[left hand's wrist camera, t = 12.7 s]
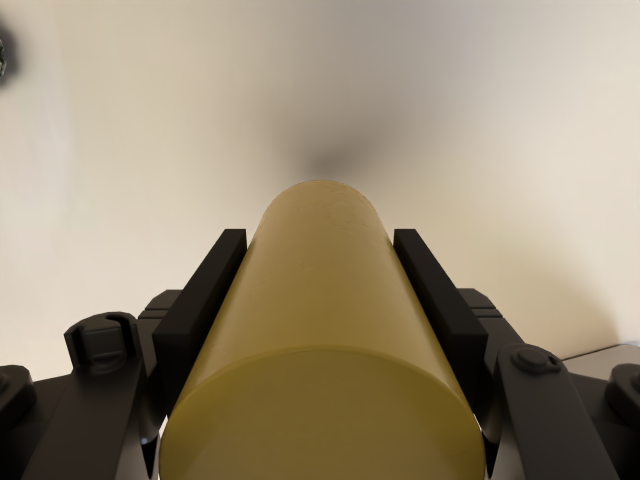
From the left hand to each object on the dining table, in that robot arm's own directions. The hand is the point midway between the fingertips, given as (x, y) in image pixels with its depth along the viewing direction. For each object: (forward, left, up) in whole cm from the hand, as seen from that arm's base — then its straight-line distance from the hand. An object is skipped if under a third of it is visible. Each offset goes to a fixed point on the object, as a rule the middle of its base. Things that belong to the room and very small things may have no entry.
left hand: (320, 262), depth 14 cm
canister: (0, 0, -3) cm, 3 cm away
